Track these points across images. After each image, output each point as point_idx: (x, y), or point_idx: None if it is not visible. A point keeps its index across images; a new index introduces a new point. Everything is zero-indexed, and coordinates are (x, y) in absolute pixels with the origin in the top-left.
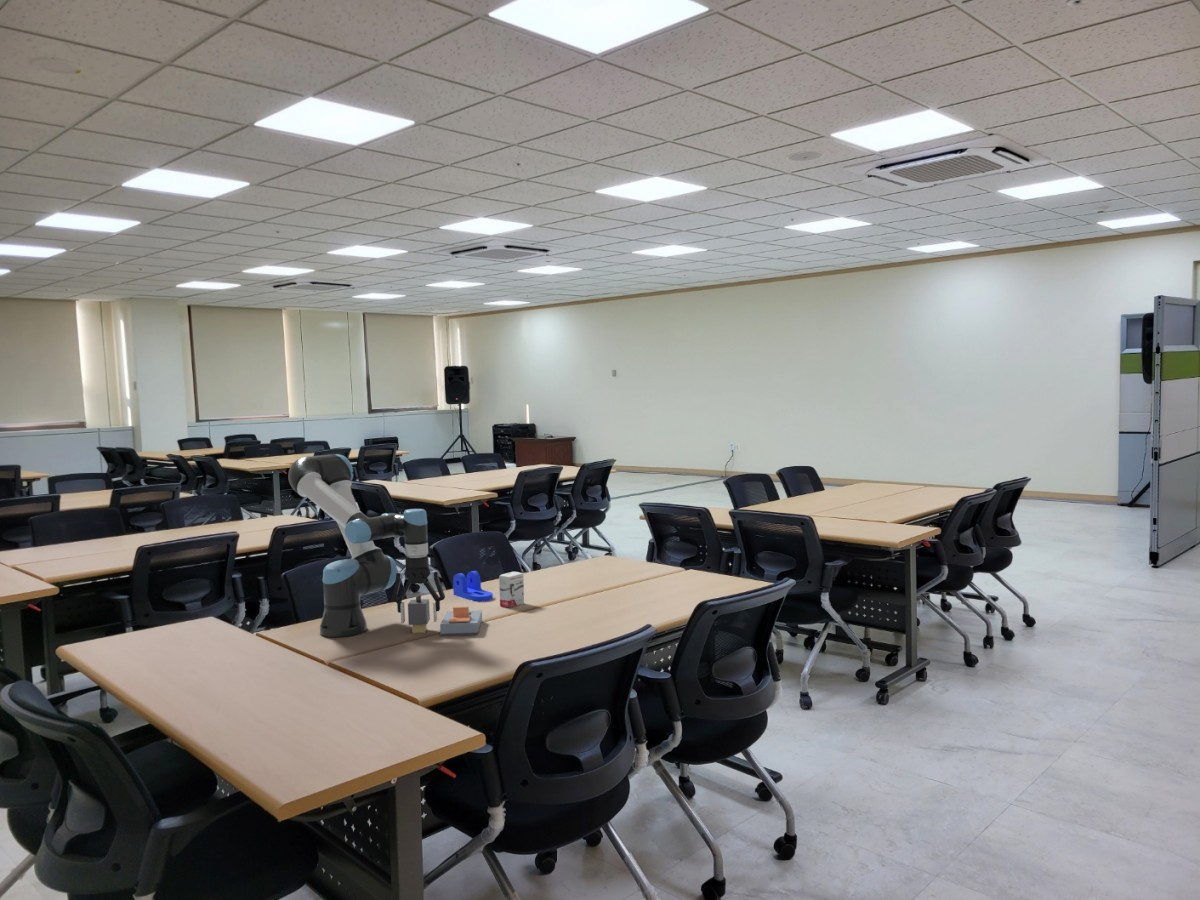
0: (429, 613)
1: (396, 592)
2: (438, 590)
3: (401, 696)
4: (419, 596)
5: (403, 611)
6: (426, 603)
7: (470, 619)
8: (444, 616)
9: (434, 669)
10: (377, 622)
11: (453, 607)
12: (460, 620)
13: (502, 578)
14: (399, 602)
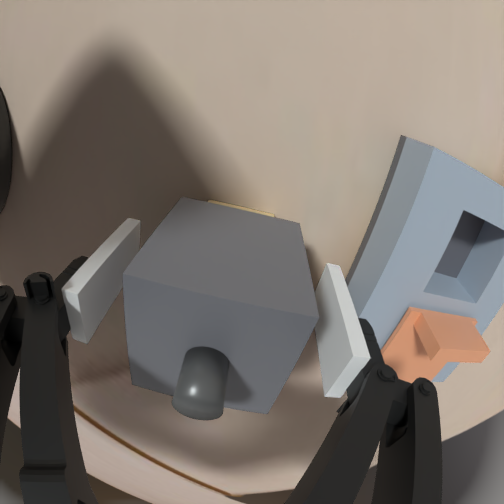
0: (302, 245)
1: (8, 392)
2: (380, 478)
3: (211, 488)
4: (210, 416)
5: (111, 288)
6: (272, 402)
7: None
8: (387, 263)
9: (257, 468)
10: (41, 29)
11: (434, 358)
12: (406, 380)
13: None
14: (62, 341)
